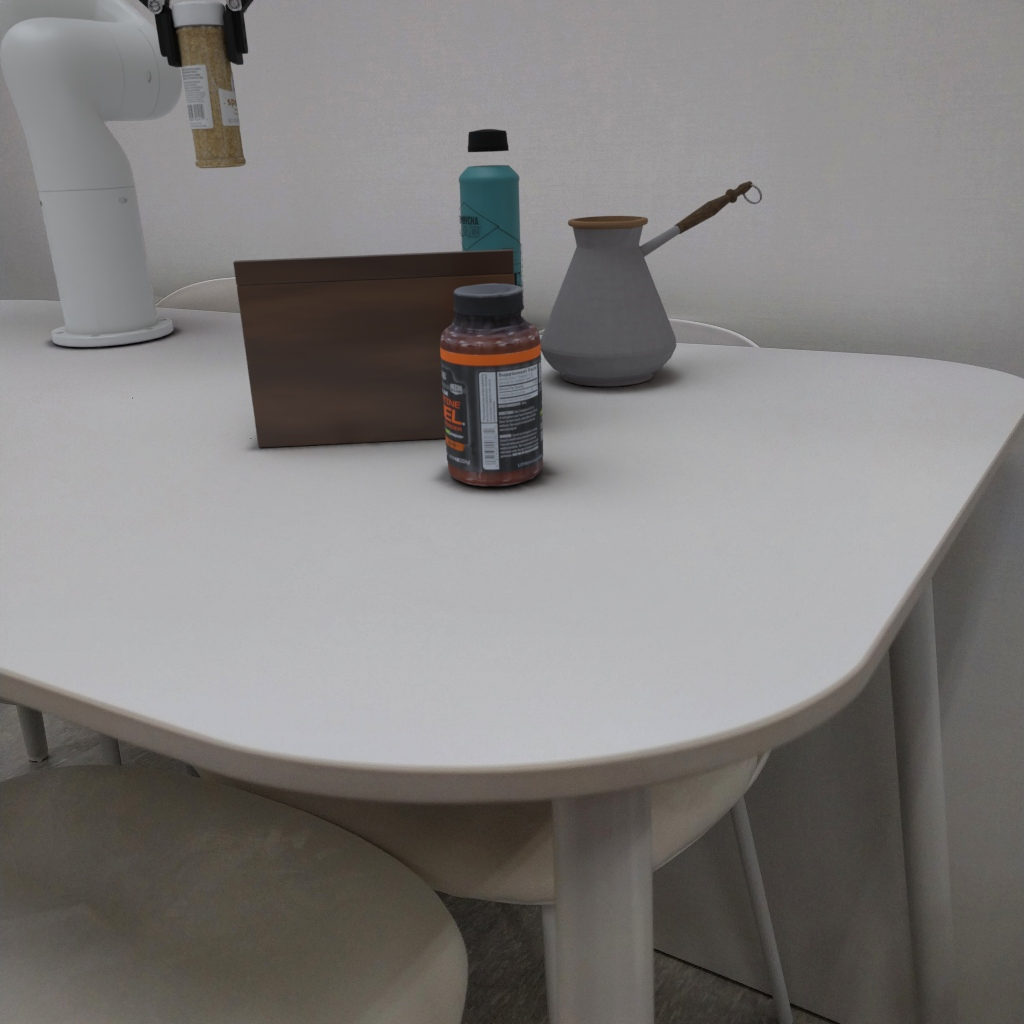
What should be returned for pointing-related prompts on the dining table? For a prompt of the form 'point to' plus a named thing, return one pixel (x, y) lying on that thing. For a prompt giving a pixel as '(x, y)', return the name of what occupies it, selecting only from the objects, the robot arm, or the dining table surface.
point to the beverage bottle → (490, 201)
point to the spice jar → (208, 84)
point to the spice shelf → (353, 342)
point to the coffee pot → (615, 301)
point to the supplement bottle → (492, 388)
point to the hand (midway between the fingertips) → (206, 62)
